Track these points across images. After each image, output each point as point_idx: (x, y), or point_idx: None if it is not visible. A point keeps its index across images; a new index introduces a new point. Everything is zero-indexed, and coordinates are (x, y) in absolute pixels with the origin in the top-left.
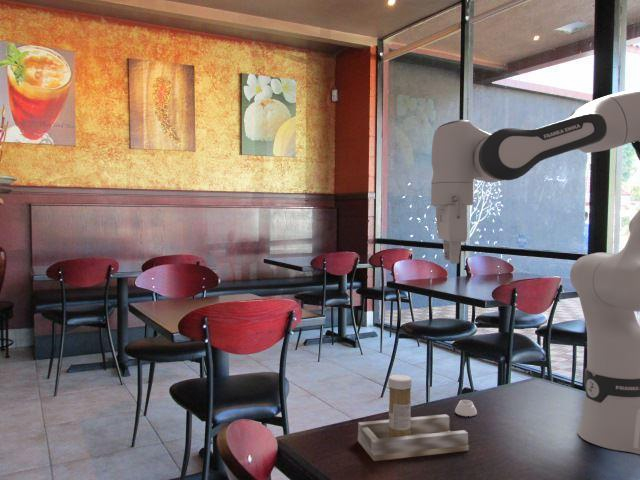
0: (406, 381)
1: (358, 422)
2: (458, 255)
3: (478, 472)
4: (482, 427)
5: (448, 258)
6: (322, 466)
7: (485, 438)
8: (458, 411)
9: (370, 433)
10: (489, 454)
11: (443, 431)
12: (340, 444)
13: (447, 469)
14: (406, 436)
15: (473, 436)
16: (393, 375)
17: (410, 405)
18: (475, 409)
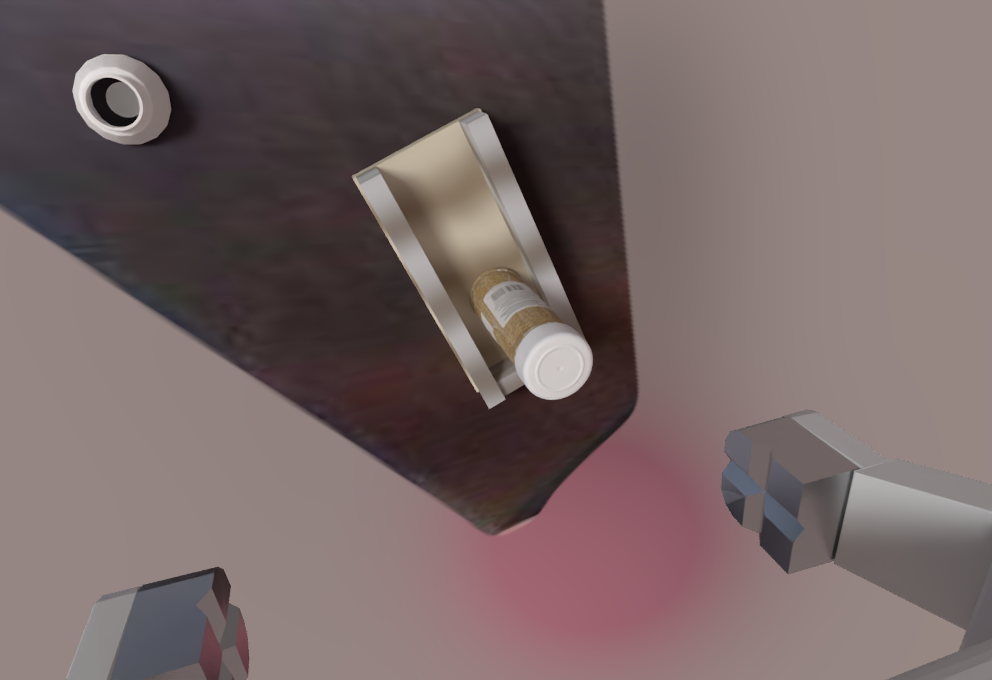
0: (586, 343)
1: (489, 408)
2: (880, 465)
3: (601, 89)
4: (266, 45)
5: (226, 625)
6: (608, 413)
7: (369, 45)
8: (157, 132)
9: None
10: (490, 46)
11: (389, 183)
12: (500, 415)
13: (594, 166)
14: (542, 282)
15: (362, 85)
16: (543, 391)
17: (535, 302)
18: (120, 61)
